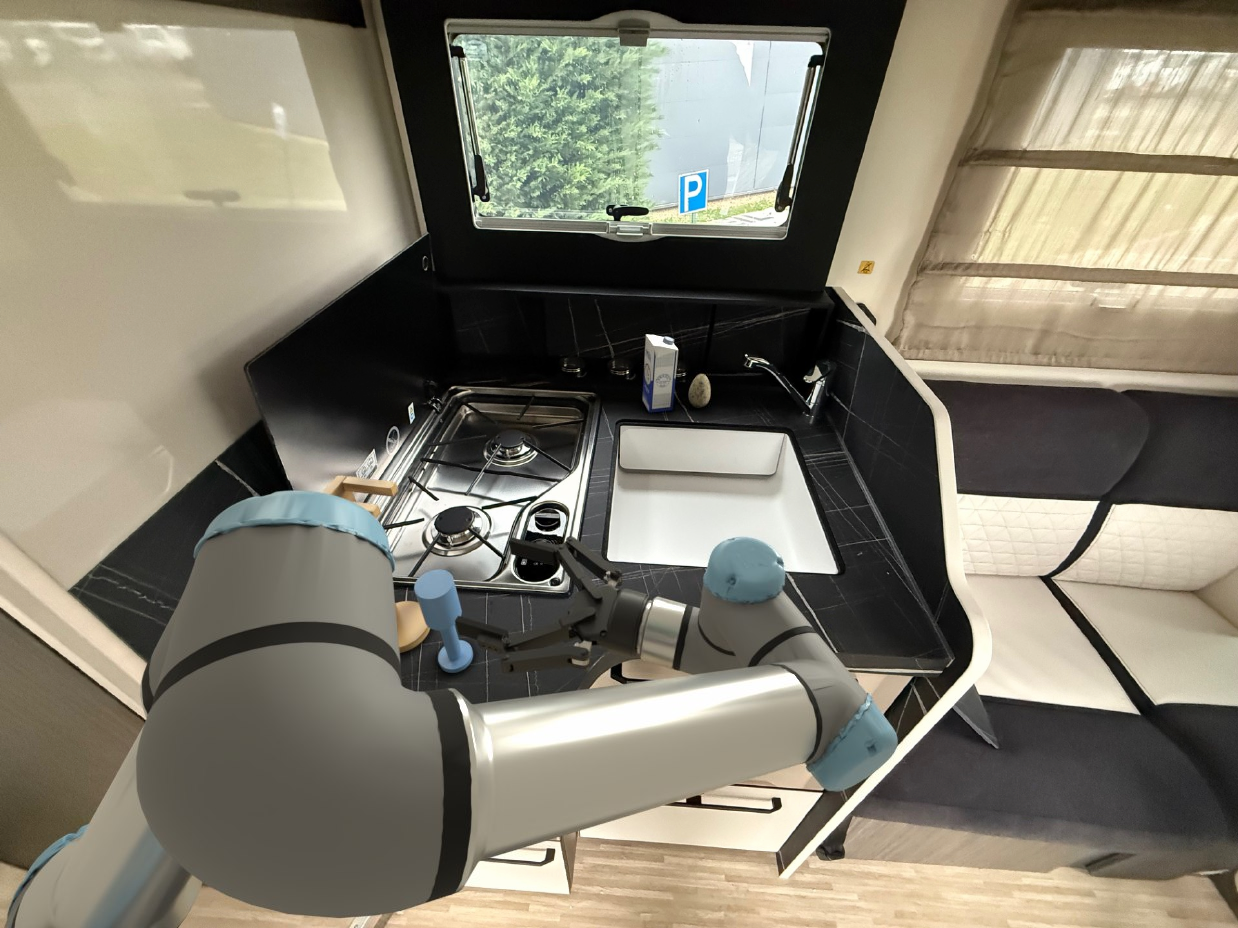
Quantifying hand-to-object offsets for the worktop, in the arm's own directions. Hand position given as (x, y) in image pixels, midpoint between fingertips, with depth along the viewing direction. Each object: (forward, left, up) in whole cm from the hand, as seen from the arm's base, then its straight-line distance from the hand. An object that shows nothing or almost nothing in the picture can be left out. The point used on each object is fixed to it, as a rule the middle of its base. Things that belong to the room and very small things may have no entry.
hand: (486, 582), depth 67 cm
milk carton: (+71, +49, -22) cm, 89 cm away
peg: (-5, +7, -22) cm, 23 cm away
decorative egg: (+80, +42, -22) cm, 93 cm away
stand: (-10, +17, -22) cm, 29 cm away
